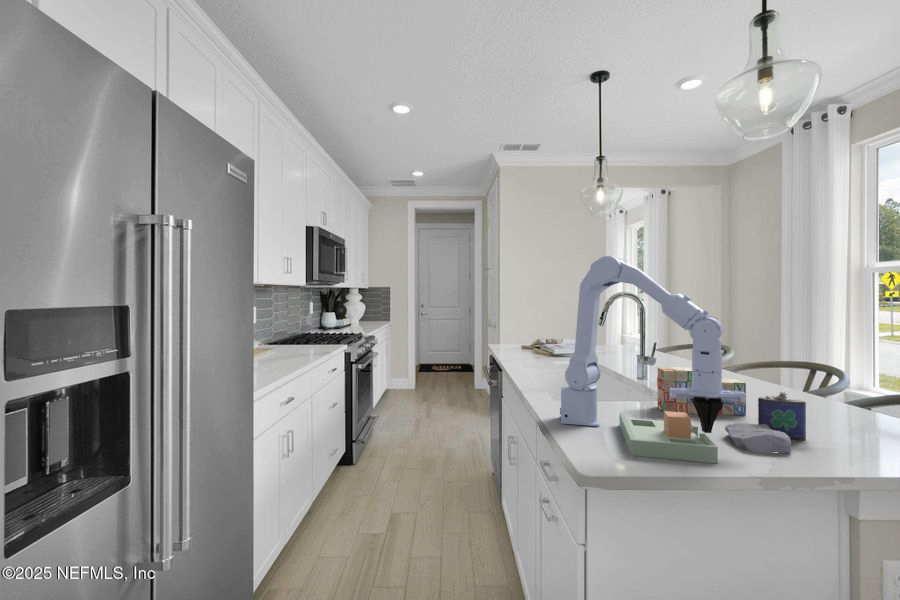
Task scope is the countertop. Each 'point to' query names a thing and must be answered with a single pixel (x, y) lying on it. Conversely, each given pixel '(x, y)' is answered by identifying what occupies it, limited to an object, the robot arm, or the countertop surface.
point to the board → (666, 441)
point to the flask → (783, 415)
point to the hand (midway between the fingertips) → (706, 431)
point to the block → (677, 424)
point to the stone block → (758, 438)
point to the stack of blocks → (683, 379)
